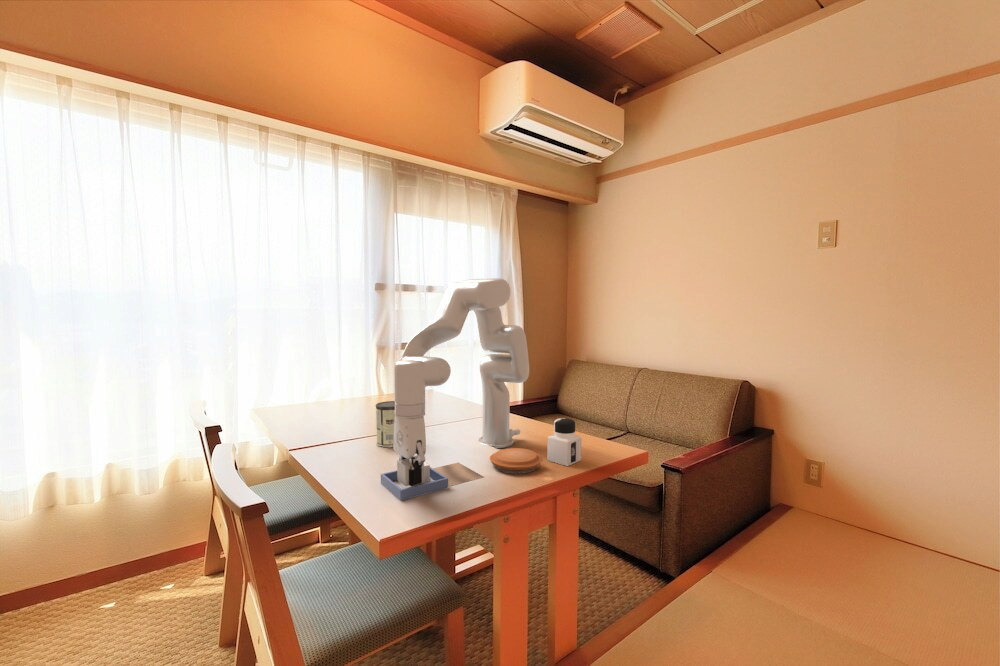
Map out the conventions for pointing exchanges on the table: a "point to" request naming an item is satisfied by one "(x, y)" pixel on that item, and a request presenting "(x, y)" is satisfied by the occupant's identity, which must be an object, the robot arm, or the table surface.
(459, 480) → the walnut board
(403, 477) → the pale white cube
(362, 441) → the table surface
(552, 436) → the container
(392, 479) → the rectangular frame
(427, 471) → the white block
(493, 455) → the pie
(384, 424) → the coffee can
